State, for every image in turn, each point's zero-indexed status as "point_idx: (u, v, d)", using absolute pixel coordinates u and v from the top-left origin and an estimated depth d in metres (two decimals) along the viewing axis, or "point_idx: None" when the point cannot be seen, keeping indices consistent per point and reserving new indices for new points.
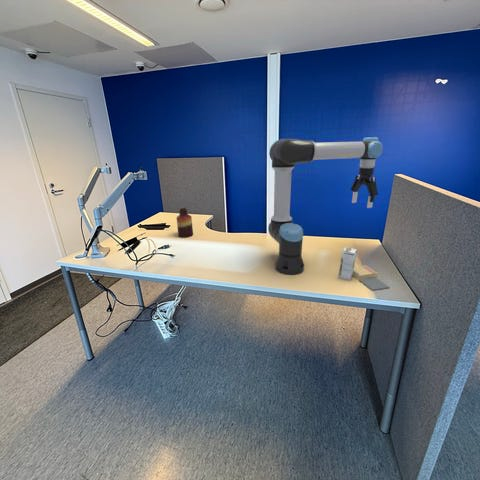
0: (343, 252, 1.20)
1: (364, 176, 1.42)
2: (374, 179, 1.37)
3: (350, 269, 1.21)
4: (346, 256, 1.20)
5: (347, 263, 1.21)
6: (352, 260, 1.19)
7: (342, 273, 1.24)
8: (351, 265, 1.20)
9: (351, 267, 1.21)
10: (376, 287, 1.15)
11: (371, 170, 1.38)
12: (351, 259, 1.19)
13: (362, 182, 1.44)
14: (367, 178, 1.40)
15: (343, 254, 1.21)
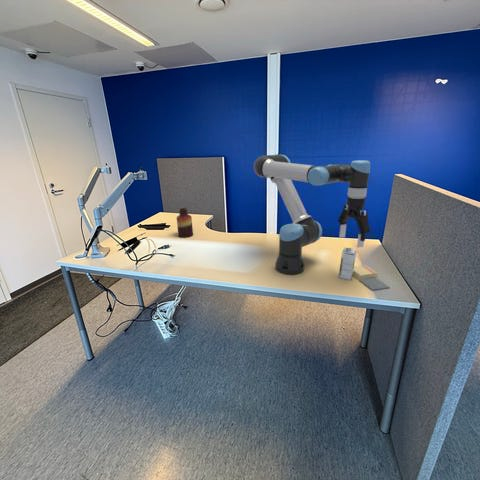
0: (343, 252, 1.20)
1: (353, 208, 1.14)
2: (365, 213, 1.08)
3: (350, 269, 1.21)
4: (346, 256, 1.20)
5: (347, 263, 1.21)
6: (352, 260, 1.19)
7: (342, 273, 1.24)
8: (351, 265, 1.20)
9: (351, 267, 1.21)
10: (376, 287, 1.15)
11: (362, 201, 1.10)
12: (351, 259, 1.19)
13: (351, 215, 1.16)
14: (357, 211, 1.12)
15: (343, 254, 1.21)
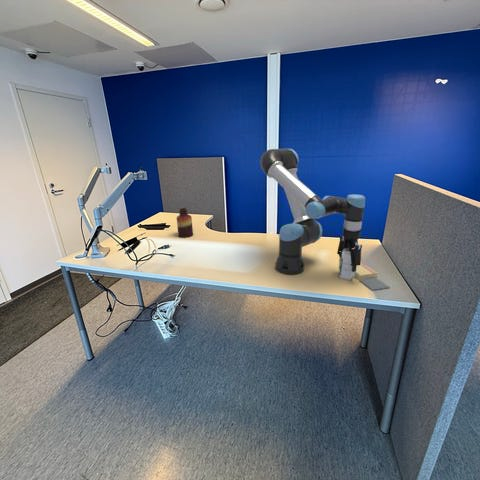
0: (343, 252, 1.20)
1: (349, 239, 1.19)
2: (360, 247, 1.14)
3: None
4: (346, 256, 1.20)
5: (347, 263, 1.21)
6: None
7: (342, 273, 1.24)
8: None
9: None
10: (376, 287, 1.15)
11: (357, 234, 1.15)
12: None
13: (347, 245, 1.21)
14: (352, 242, 1.17)
15: (343, 254, 1.21)
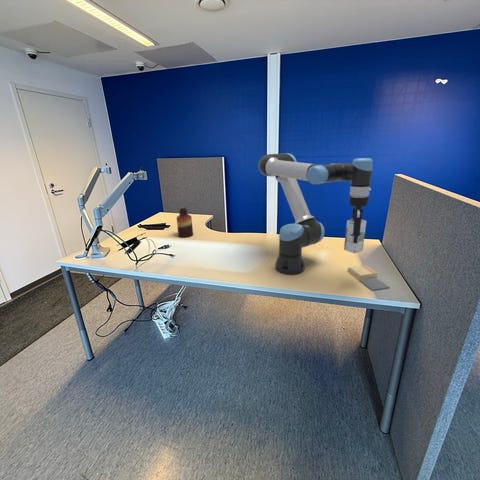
0: (348, 221, 1.13)
1: (355, 207, 1.10)
2: (359, 215, 1.05)
3: None
4: (350, 226, 1.12)
5: None
6: None
7: (347, 245, 1.16)
8: None
9: None
10: (376, 287, 1.15)
11: (360, 200, 1.06)
12: None
13: None
14: (355, 210, 1.08)
15: (347, 223, 1.13)
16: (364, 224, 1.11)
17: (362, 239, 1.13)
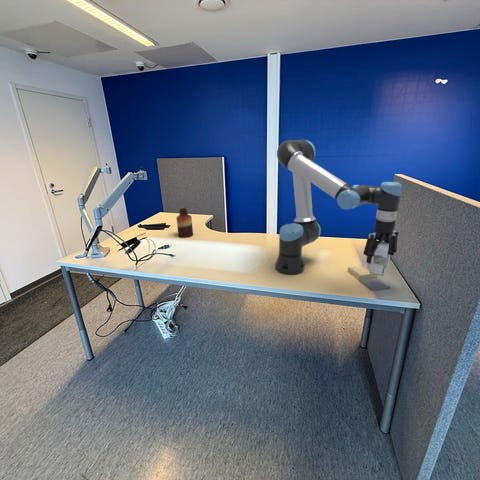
0: None
1: None
2: (369, 237, 1.09)
3: None
4: None
5: None
6: None
7: None
8: None
9: None
10: (376, 287, 1.15)
11: (377, 223, 1.07)
12: None
13: None
14: None
15: None
16: (385, 249, 1.09)
17: (382, 263, 1.11)
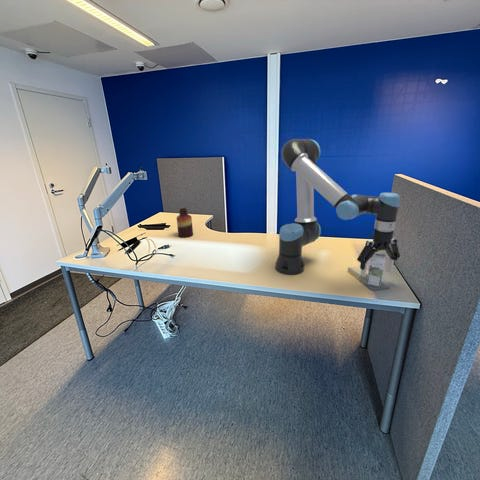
0: None
1: None
2: (368, 244, 1.10)
3: (368, 272, 1.16)
4: None
5: None
6: None
7: None
8: (369, 268, 1.15)
9: None
10: (376, 287, 1.15)
11: (376, 233, 1.09)
12: (370, 261, 1.15)
13: None
14: None
15: None
16: (382, 261, 1.11)
17: (379, 275, 1.13)
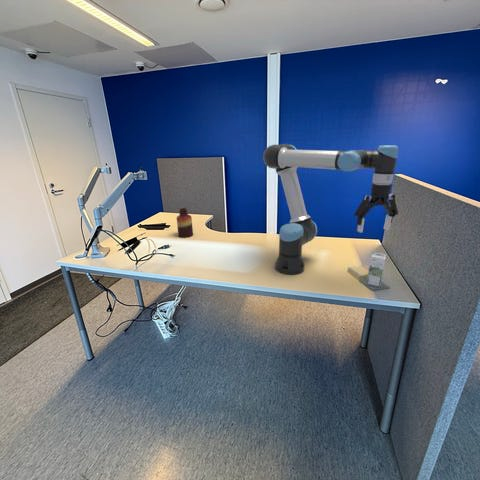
0: None
1: None
2: (365, 198, 1.10)
3: (368, 272, 1.16)
4: None
5: None
6: None
7: None
8: (369, 268, 1.15)
9: None
10: (376, 287, 1.15)
11: (373, 187, 1.09)
12: (370, 261, 1.15)
13: None
14: None
15: None
16: (382, 261, 1.11)
17: (379, 275, 1.13)
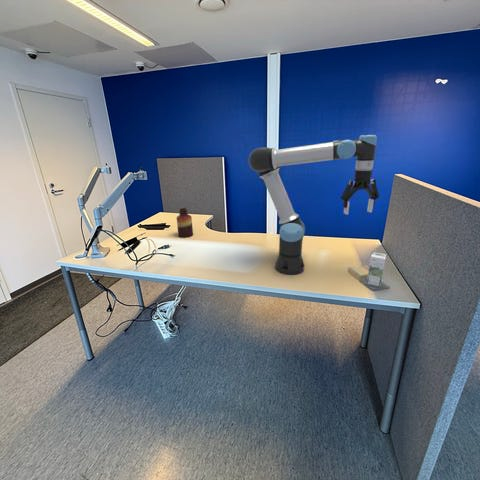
0: None
1: None
2: (349, 182, 1.22)
3: (368, 272, 1.16)
4: None
5: None
6: None
7: None
8: (369, 268, 1.15)
9: None
10: (376, 287, 1.15)
11: (356, 173, 1.22)
12: (370, 261, 1.15)
13: None
14: None
15: None
16: (382, 261, 1.11)
17: (379, 275, 1.13)
